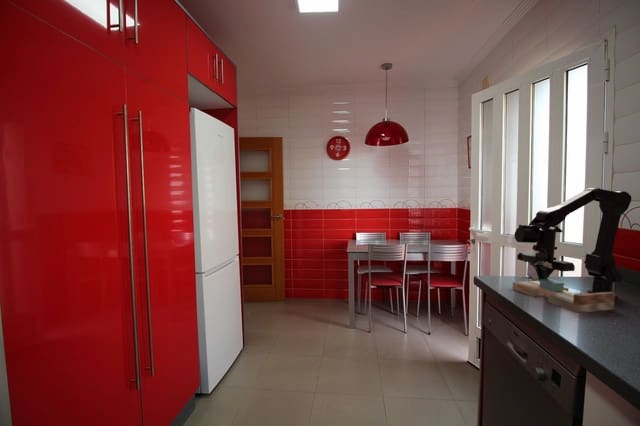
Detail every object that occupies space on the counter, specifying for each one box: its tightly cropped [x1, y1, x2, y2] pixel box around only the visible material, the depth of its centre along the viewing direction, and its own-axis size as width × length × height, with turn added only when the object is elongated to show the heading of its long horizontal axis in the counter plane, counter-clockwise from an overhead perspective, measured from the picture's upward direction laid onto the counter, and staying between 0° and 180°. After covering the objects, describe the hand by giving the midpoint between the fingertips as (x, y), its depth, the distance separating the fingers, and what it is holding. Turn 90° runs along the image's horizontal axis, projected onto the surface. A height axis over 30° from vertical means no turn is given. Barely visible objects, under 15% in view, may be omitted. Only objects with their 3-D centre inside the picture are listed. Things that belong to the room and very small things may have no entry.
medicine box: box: [526, 262, 539, 281], centre depth 134 cm, size 8×4×9 cm, turn 168°
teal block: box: [540, 278, 565, 292], centre depth 112 cm, size 5×5×3 cm
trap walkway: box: [511, 280, 616, 314], centre depth 109 cm, size 16×24×6 cm, turn 14°
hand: (541, 283), depth 116 cm, fingers closed
